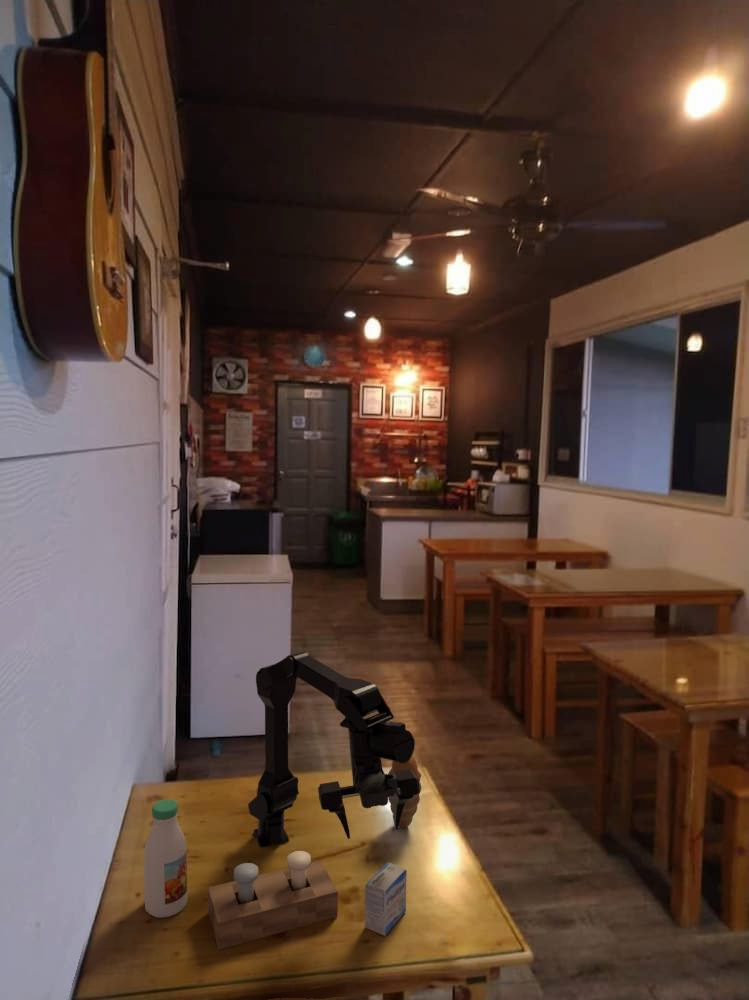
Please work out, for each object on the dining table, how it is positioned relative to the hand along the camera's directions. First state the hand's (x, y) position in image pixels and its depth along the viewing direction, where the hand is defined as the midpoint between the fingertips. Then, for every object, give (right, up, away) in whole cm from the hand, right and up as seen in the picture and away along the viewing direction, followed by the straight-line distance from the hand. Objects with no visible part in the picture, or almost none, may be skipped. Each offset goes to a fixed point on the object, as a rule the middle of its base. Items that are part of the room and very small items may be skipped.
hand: (372, 833), depth 131 cm
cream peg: (-14, -9, -1) cm, 17 cm away
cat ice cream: (+7, -12, +27) cm, 30 cm away
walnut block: (-19, -14, -2) cm, 23 cm away
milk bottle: (-39, -14, 0) cm, 41 cm away
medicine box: (+2, -15, -3) cm, 15 cm away
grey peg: (-23, -10, -5) cm, 25 cm away
